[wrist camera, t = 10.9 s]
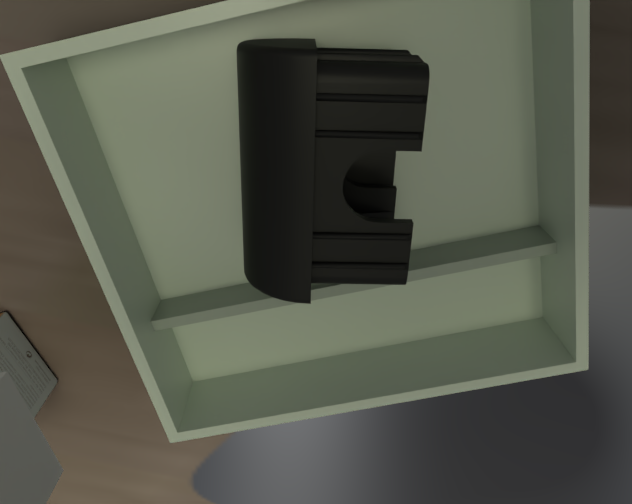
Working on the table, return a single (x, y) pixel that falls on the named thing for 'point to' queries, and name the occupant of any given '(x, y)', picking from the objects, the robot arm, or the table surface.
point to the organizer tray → (411, 203)
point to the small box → (24, 365)
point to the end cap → (325, 162)
